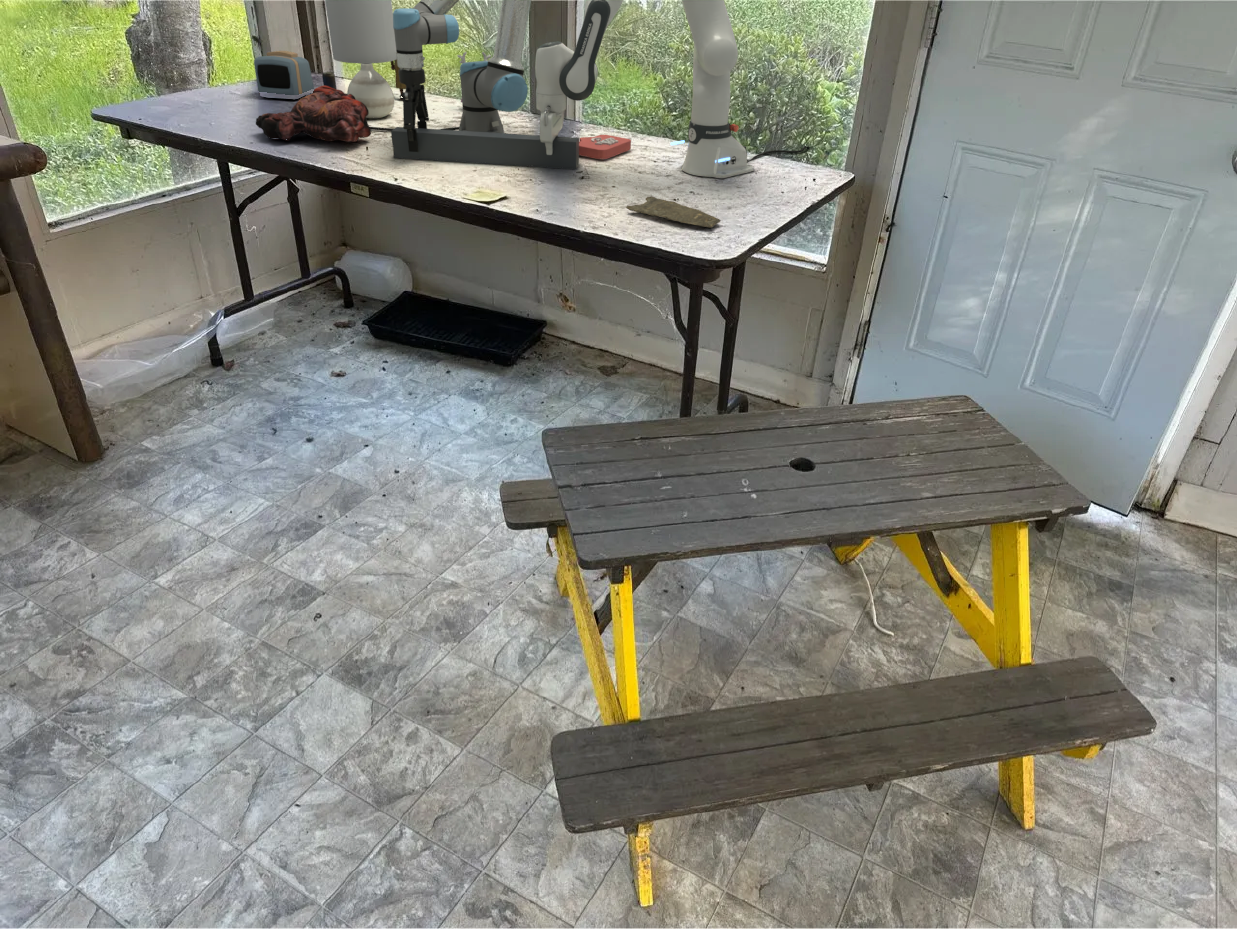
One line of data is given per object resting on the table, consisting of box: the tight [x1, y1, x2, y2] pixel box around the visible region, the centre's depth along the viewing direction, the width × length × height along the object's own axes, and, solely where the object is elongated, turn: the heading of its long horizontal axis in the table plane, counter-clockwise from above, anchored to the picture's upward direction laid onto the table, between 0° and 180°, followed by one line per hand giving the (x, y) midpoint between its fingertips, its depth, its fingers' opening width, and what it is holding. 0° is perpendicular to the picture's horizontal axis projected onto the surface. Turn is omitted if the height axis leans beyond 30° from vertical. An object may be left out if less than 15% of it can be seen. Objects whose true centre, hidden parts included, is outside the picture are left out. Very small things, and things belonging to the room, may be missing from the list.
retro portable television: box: [253, 50, 315, 95], centre depth 326 cm, size 16×16×16 cm
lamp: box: [324, 0, 397, 120], centre depth 295 cm, size 22×22×40 cm
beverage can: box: [321, 71, 338, 90], centre depth 314 cm, size 9×8×12 cm
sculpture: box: [255, 84, 372, 143], centre depth 275 cm, size 43×30×13 cm
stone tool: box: [625, 196, 722, 229], centre depth 221 cm, size 11×3×25 cm
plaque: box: [579, 134, 632, 160], centre depth 274 cm, size 18×4×15 cm
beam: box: [390, 126, 580, 170], centre depth 260 cm, size 57×6×8 cm, turn 84°
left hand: (418, 147), depth 262 cm, fingers open, 9 cm apart
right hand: (551, 151), depth 258 cm, fingers open, 6 cm apart
